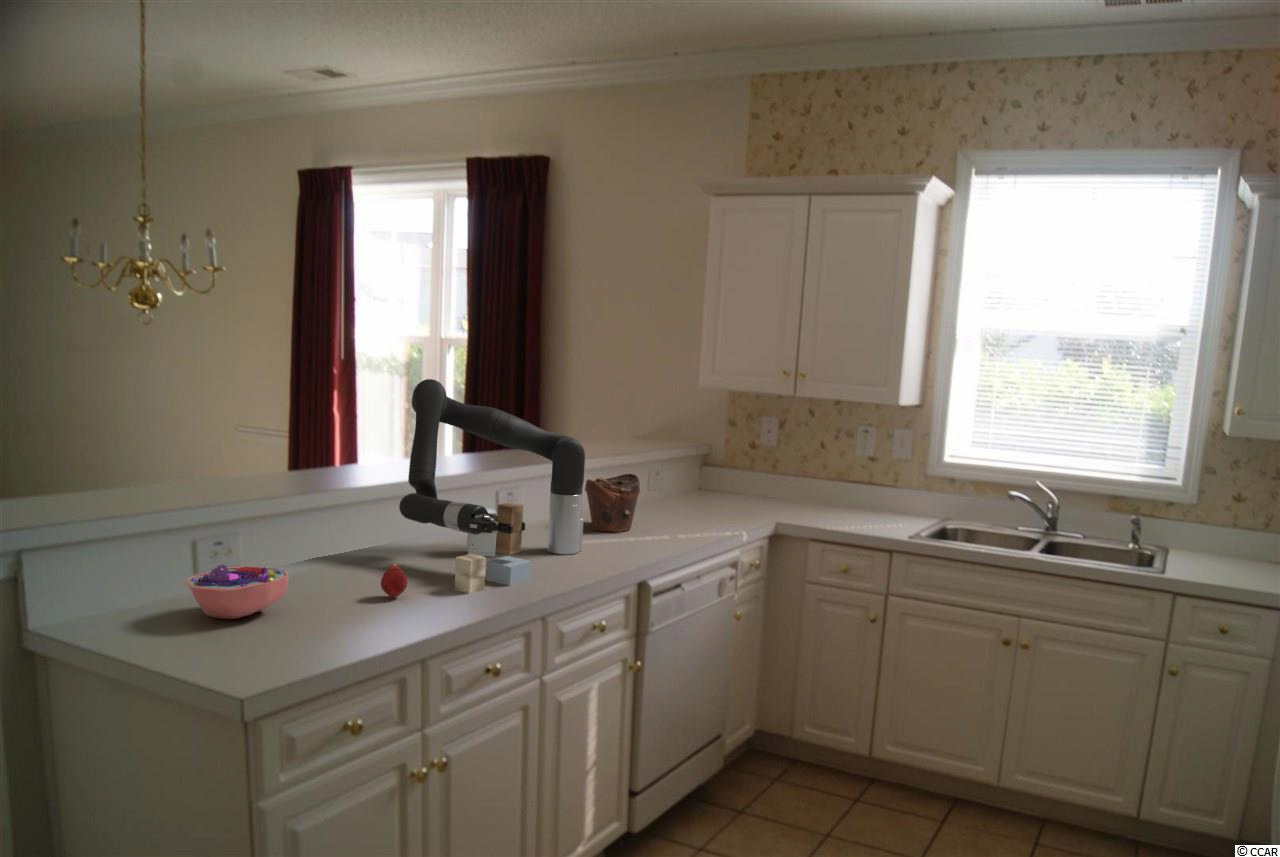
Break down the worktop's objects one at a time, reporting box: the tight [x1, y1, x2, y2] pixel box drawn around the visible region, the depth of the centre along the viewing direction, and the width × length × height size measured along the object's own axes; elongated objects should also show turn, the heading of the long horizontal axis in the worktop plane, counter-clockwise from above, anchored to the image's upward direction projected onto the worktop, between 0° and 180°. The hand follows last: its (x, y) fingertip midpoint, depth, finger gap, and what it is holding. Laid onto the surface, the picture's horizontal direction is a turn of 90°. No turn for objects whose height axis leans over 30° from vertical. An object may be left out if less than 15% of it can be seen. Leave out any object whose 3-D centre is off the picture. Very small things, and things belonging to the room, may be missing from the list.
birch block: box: [454, 553, 487, 595], centre depth 211 cm, size 5×5×8 cm
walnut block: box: [495, 502, 524, 556], centre depth 220 cm, size 4×4×12 cm
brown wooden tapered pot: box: [584, 473, 641, 533], centre depth 290 cm, size 18×20×18 cm
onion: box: [380, 563, 408, 599], centre depth 201 cm, size 6×6×8 cm
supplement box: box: [466, 507, 498, 557], centre depth 246 cm, size 7×7×13 cm
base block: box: [485, 555, 532, 587], centre depth 221 cm, size 8×8×5 cm
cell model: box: [183, 563, 290, 620], centre depth 182 cm, size 17×20×11 cm
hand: (518, 528), depth 219 cm, fingers closed on walnut block, 4 cm apart
